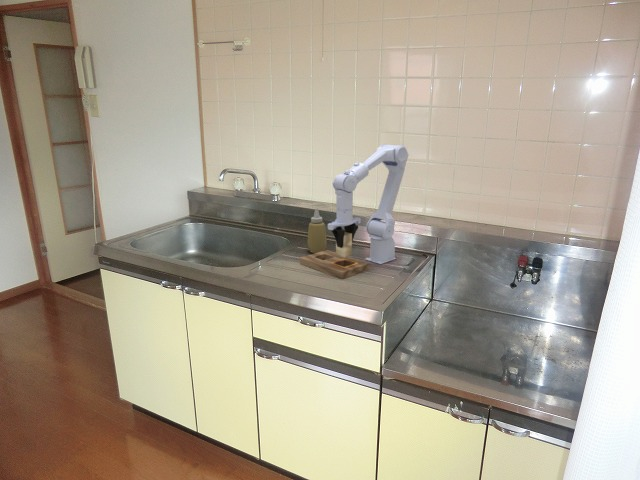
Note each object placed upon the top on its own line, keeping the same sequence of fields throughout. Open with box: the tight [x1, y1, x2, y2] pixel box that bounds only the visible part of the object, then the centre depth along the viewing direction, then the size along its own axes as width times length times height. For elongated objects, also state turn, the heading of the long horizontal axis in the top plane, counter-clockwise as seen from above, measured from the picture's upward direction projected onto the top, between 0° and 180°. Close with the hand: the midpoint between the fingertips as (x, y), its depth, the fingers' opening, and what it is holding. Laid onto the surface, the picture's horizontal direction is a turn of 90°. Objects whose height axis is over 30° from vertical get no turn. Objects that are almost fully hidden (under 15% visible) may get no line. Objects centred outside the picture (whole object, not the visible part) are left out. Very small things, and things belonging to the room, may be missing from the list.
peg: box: [335, 232, 353, 257], centre depth 170 cm, size 4×4×8 cm
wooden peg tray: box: [299, 249, 371, 280], centre depth 176 cm, size 14×23×3 cm, turn 42°
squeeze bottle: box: [306, 208, 328, 254], centre depth 192 cm, size 8×8×18 cm
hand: (344, 245), depth 170 cm, fingers closed on peg, 4 cm apart
